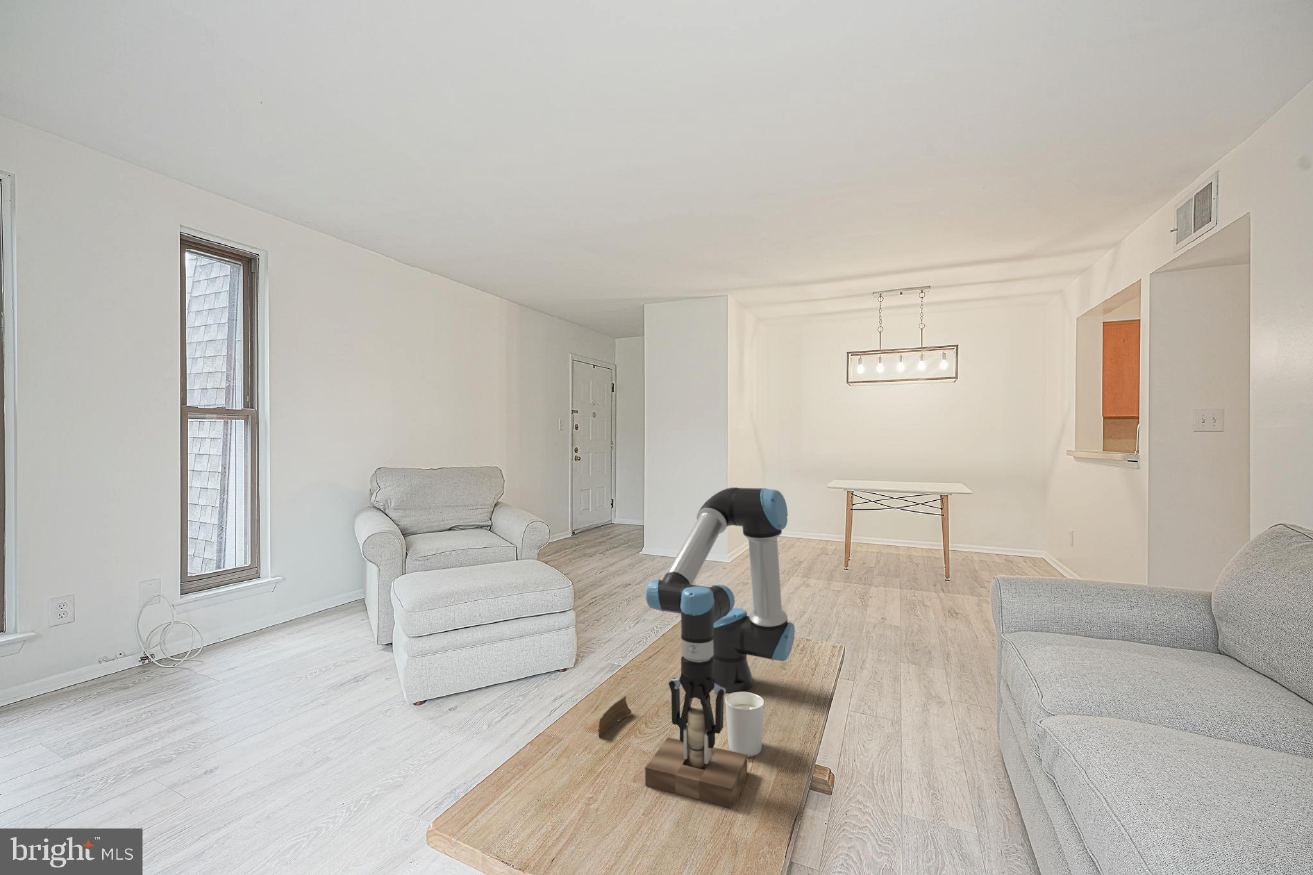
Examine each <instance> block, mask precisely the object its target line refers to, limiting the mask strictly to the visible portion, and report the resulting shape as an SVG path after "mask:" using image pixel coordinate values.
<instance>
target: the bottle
mask: <svg viewBox="0 0 1313 875" xmlns="http://www.w3.org/2000/svg"><path fill="white" fill-rule="evenodd" d="M687 725H688V743H689V764H690V766H692V767H694V768H702V767H704V766H705V764H704V734H705V733H706V732H707V727H706V723H705V718H704V713H703V708H702V706H691V708H690V709H689V710H688V723H687Z"/></svg>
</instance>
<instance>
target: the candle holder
mask: <svg viewBox="0 0 1313 875" xmlns="http://www.w3.org/2000/svg"><path fill="white" fill-rule="evenodd" d="M724 699H725V700H724V701H725V702H724V703H725V715H726V716H725V717H726V732H727V736H726V737H727V746H728V749H729V751H733V752H737V753H742V754H746V755H747V758H749V757H750V758H751V757H755V756H756V755H757V756H758V755H759V754H760V753H761V751H762V742H763V729H764V712H765V711H764V709H765V701H764V699H763V698H762V696H760V695H758V694H755V693H753V692H748V691H741V692H730V693H729V694H727V695H726V696H725V697H724Z"/></svg>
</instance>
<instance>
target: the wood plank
mask: <svg viewBox="0 0 1313 875" xmlns="http://www.w3.org/2000/svg"><path fill="white" fill-rule="evenodd" d="M626 698H627V696H626V695H624V697H622V698H621V699H619V700H618V701H616V702H615V703H614V704H612V706H610V707H609V708H608V709H607V711H606V712H604V713H603V716H602V717H601V718H600V719H599V722H598V729H597V731H598V738H600V737H602V735H604V733H605V732H607V731H608V730H609V729H610V728H611V727H612V726H613V725H614V723H615V722H617V723H618V722H620V721H621V720H622V719H626V718H627V717H629V716H630V715H631V714H632V710H631V709H630V708H629V705H628V703H627V699H626ZM618 720H619V721H618ZM612 724H613V725H612ZM615 724H616V723H615ZM607 729H608V730H607Z"/></svg>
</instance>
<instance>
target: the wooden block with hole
mask: <svg viewBox="0 0 1313 875" xmlns="http://www.w3.org/2000/svg"><path fill="white" fill-rule="evenodd" d="M644 768H645V770H644V774H645V775H644V777H645V778H644V780H645V782H644V785H645V786H647V787H651V788H654V789H659V790H661V791H665V792H670V793H673V794H676V795H680V796H685V797H687V798H692V799H697V800H700V801H704V802H708V803H710V804H711V803H712V804H715V805H720V806H723V807H727V808H733V805H734V804H735V801H736V799H737V797H738V794H739V792H740V790H741V786H742V784H743V782H744V780H745V778H746V775H747V772H748V757H747V755H746V754H742V753H737V752H733V751H730V750H727V749H722V748H718V747H715V746H714V747H713V748H711V759H710V761H709V762H708V764H705V766H704V767H702V768H694V767H692V766H690V764H689V756H688V758H687V759H684V742H681V741H680V739H678V738H673V737H670V736H667V737H666V739H665V741H663V743H662V744H661V746H660V747H659V749H658V750H657V751H656V752H655V754H654V755H653V757H652V758H651V759H650V761H649V762H648V763H647V765H646V766H645V767H644Z"/></svg>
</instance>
